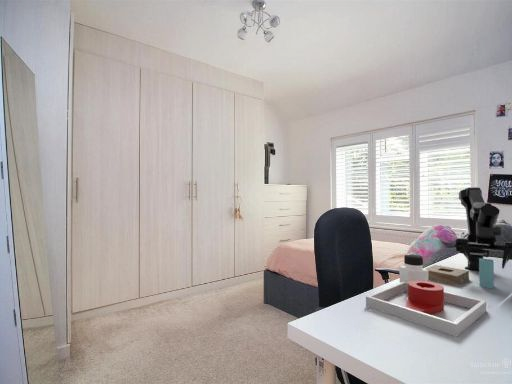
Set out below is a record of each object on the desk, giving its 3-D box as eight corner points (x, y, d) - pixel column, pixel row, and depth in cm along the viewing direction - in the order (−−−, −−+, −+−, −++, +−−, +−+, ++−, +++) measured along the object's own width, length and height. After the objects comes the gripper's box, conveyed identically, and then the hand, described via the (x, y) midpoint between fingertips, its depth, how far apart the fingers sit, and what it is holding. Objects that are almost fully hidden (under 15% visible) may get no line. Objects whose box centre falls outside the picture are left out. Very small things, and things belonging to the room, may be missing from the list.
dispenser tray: (403, 289, 103) (403, 281, 103) (486, 311, 84) (486, 301, 84) (365, 306, 88) (365, 296, 88) (456, 336, 69) (456, 324, 69)
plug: (479, 284, 108) (479, 258, 108) (493, 286, 106) (492, 259, 106) (479, 287, 105) (479, 260, 105) (493, 289, 103) (493, 261, 103)
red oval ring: (414, 298, 95) (414, 278, 95) (447, 307, 88) (447, 285, 88) (392, 314, 82) (392, 291, 82) (429, 325, 76) (429, 300, 76)
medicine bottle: (429, 290, 102) (428, 257, 102) (408, 290, 102) (408, 256, 102) (418, 284, 109) (417, 252, 109) (399, 284, 110) (399, 252, 110)
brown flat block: (435, 274, 123) (435, 264, 123) (468, 280, 113) (468, 270, 113) (423, 279, 115) (423, 269, 115) (458, 287, 106) (457, 276, 106)
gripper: (455, 217, 114) (454, 249, 106) (518, 220, 103) (523, 256, 94) (456, 235, 121) (455, 266, 112) (516, 239, 109) (520, 275, 101)
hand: (486, 266), depth 105 cm, fingers open, 9 cm apart
